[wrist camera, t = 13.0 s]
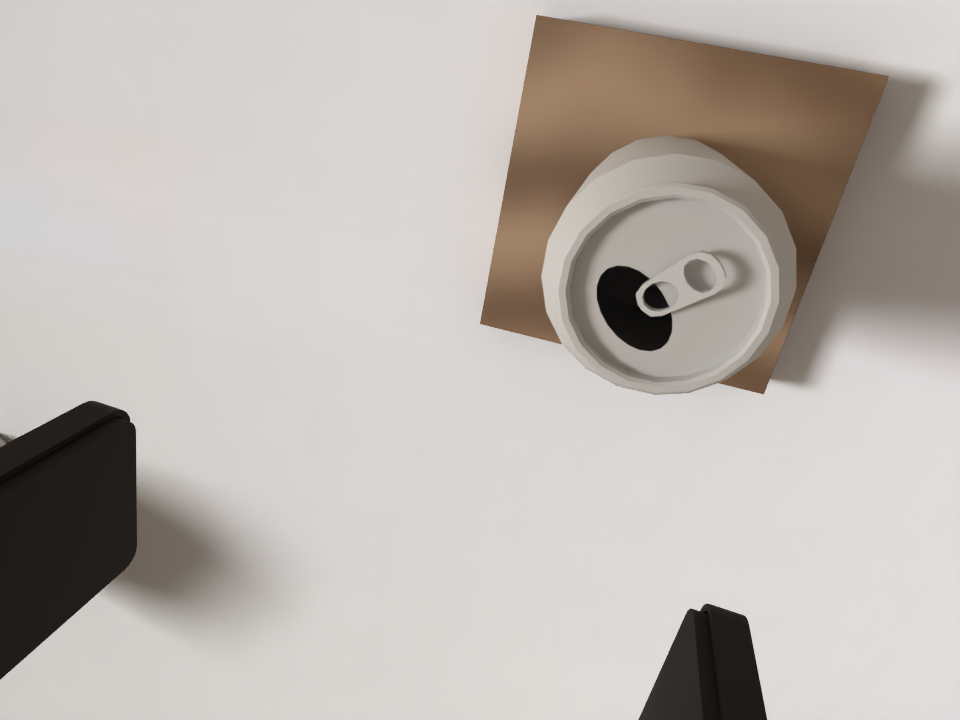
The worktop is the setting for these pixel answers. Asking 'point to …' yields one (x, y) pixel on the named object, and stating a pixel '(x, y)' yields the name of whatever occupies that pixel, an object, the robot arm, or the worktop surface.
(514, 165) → the walnut board
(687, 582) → the worktop surface
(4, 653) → the robot arm
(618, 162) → the can
